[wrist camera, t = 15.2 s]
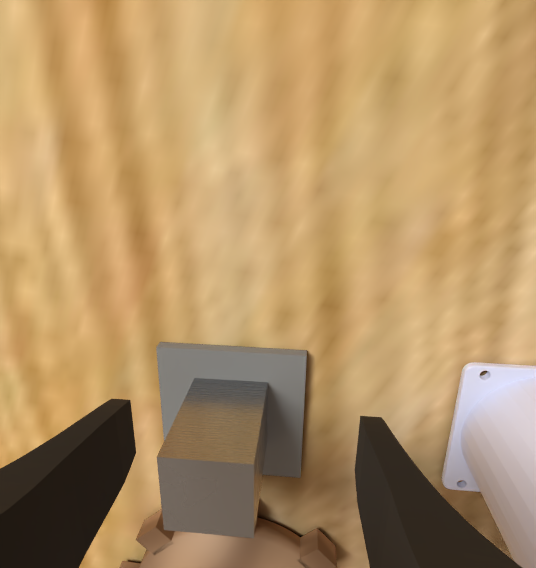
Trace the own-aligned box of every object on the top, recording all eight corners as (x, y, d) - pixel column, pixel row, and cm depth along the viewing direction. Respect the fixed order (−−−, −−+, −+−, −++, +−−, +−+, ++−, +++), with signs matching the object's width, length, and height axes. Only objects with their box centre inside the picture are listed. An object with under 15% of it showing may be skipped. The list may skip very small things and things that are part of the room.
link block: (267, 382, 22) (253, 464, 17) (266, 443, 24) (253, 538, 18) (194, 377, 23) (156, 457, 17) (197, 438, 24) (164, 529, 19)
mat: (306, 350, 22) (306, 356, 22) (300, 470, 25) (300, 478, 24) (160, 341, 23) (155, 347, 22) (169, 459, 26) (165, 467, 25)
